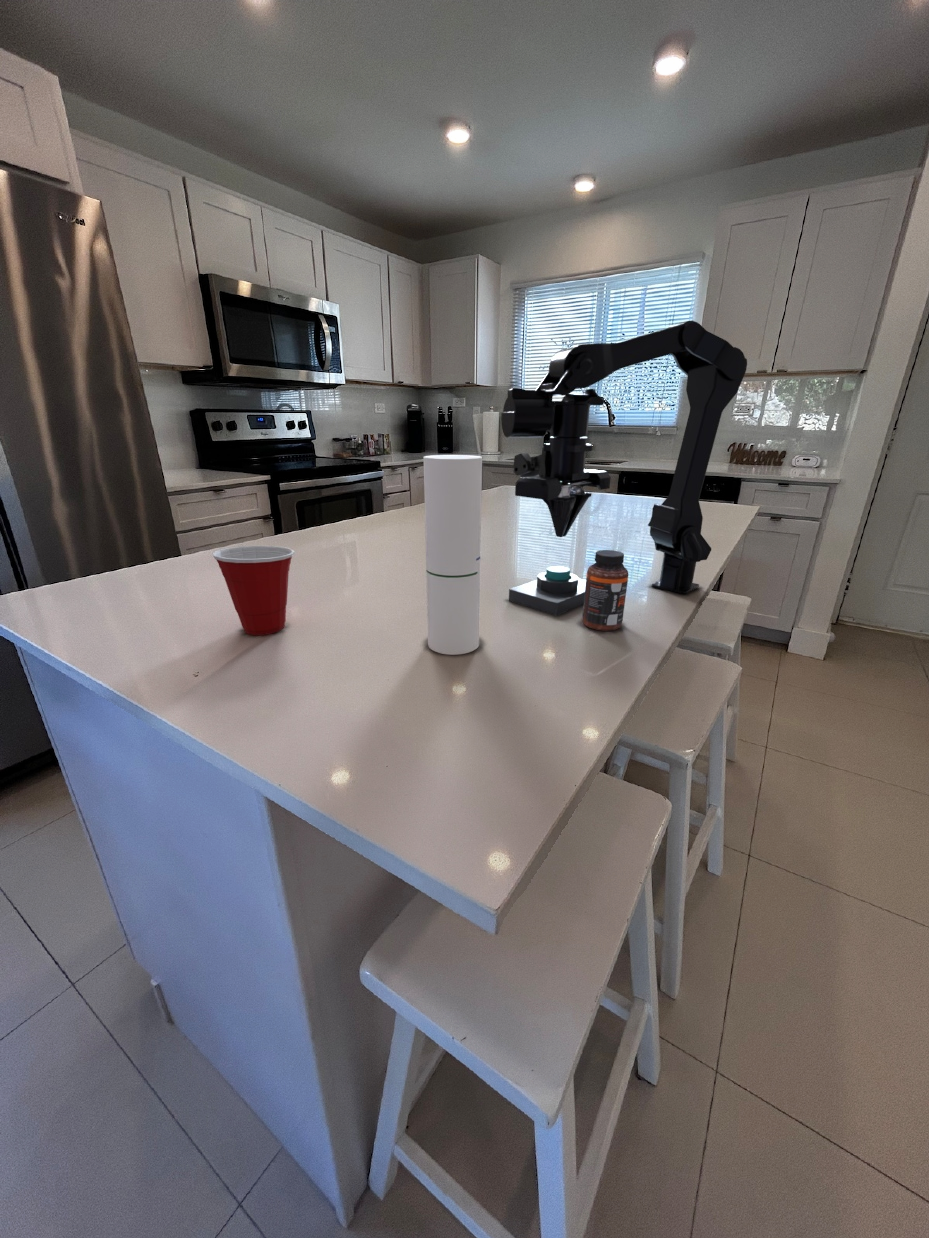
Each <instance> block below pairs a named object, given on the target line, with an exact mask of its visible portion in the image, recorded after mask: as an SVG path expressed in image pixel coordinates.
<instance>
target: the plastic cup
mask: <svg viewBox="0 0 929 1238" xmlns="http://www.w3.org/2000/svg"><path fill="white" fill-rule="evenodd" d="M295 552H296V551H295V550H293V549H292V548H289V547H285V546H275V545H246V546H245V545H244V546H235V547H227V548H222V549H217V550H215V551H213V552H212V556H213V558H214V559H215V560H216V562H217V563H218V567H219V570H220V571H221V574H222V577H223V579H224V581H225V584H226V587H227V590H228V592H229V596H230V598H231V601H232V604H233V606H234V608H235V612H236V614H237V616H238V619H239V621H240V622H239V623H240V625H241V627H242V629H243V630H244V632H245V634H248V635H251V636H265V635H271V634H274V633H278V632H280V631H282V630H283V629H284V627H285V626H286V621H287V620H286V617H287V605H288V591H289V589H288V588H289V573H290V569H291V563H292V558H293V556H294V555H295Z"/></svg>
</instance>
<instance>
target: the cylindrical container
mask: <svg viewBox="0 0 929 1238" xmlns="http://www.w3.org/2000/svg"><path fill="white" fill-rule="evenodd" d="M482 482H483V456H481V455H472V454H432V455H424V456H423V491H424V493H423V494H424V495H423V496H424V497H423V498H424V529H425V531H424V535H425V565H426V566H425V570H426V571H425V574H426V575H425V577H426V611H427V613H426V618H427V621H426V622H427V646H428V648H429V649H430V650H432V651H433V652H435V653H438V654H443V655H448V656H449V655H450V656H451V655H452V656H455V655H457V656H459V655H465V654H468V653H471V652H473V651H476V650H477V649H478V648H479V646H480V613H481V612H480V611H481V608H480V607H481V605H480V604H481V551H482V550H481V549H482V548H481V545H482V492H483V491H482V490H483V489H482V486H483V483H482Z"/></svg>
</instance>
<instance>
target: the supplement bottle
mask: <svg viewBox="0 0 929 1238" xmlns="http://www.w3.org/2000/svg"><path fill="white" fill-rule="evenodd" d="M624 557H625V554H624V553H623V552H622V551H619V550H614V549H613V550H612V549H601V550H597V551H596V552H595V556H594V561H595V563H593V564H591V565H589V567H587V571H586V577H585V580H586V586H585V596H584V604H583V605H582V607H583V608H582V617H581V618H582V619H581V620H582V623H583V625H585V626H586V627H587V628H590V629H591V630H596V631H601V632H602V631H603V632H610V631H616V630H618V629H620V628H621V627H622V624H623V621H624V620H623V619H624V613H625V604H626V598H627V591H628V590H627V589H628V581H629V570H628V568H626V567H625V566H624V560H625V559H624Z"/></svg>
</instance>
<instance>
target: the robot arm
mask: <svg viewBox="0 0 929 1238" xmlns="http://www.w3.org/2000/svg"><path fill="white" fill-rule="evenodd" d="M669 355H671V357H673V360H674V362H675V364H676V367H677V368H678V369H679V370H680V371H681V372H682V373H683V374H684V375H686V376H687V378H686V389H685V391H686V395H687V399H688V404H689V413H688V416H687V421H686V425H685V429H684V433H683V437H682V441H681V445H680V448H679V453H678V457H677V460H676V464H675V469H674V474H673V478H672V480H671V485H670V489H669V493H668V496H667V497H666V498H665V499H664V501H663V502H662V503H661V504H658V503H654V504H653V507H652V511H651V517H650V521H649V522H648V524H647V526H648V527H649V536H650V537H651V539H652V540H653V543H654V547H655V550H656V552H657V551H658V552H661V553H663V556H662V562H661V570H660V575H659V580H657V581H655V582H652V583H651V587H652V588H657V589H660V590H664V591H668V592H672V593H673V592H674V593H678V594H682V595H686V594H688V593H691V592H692V591H695V590H696V589H698V588H699V587H700V584H699V583H696V582H694V578H695V573H696V567H697V563H700V562H701V561H707V560H708V558H709V556H710V554H711V552H712V546H710V544H709V542H707V540H706V539H705V537H704V536H703V535H702V528H703V521H704V517H703V512H702V509H701V504H700V496H701V492H702V488H703V485H704V481H705V478H706V474H707V470H708V467H709V463H710V459H711V455H712V451H713V447H714V444H715V441H716V437H717V433H718V429H719V426H720V421H721V418H722V415H723V412H724V410H725V408H726V407H728V405H729V403H730V402H732V400H733V398H734V397H735V396H736V395H737V394H738V392H739V389H740V387H741V384H742V382H743V380H744V378H745V375H746V373H747V367H748V359H747V358H746V357H745V353H744V352H743V351H742V349H741V348H739V347H736V346H733V345H732V344H731V343H730V342H729V341H728V340H726V339H724V338H722V337H720V336H718V335H716V334H714V333H712V332H711V331H708V330H707V329H706V328H705V327H703V325H701V323H699V322H697V321H695V320H693V319H692V320H685V321H682V322H678V323H677V322H676V323H674V324H672V325H670V326H669V327H666V328H663V329H659V330H655V331H652V332H649V333H645V334H641V335H638V336H634V337H630V338H628V339H624V340H621V341H617V342H610V343H609V342H599V343H597V342H595V343H583V344H577V345H574V346H570V347H566V348H563V349H560V350H558V351H556V352H555V353H553V356H552V358H551V359H550V362H549V366H548V372H547V373H546V374H545V376H544V377H543V379H542V380H541V381H540V383H539V384H538V386H537V387H536V389H524V388H519V387H518V388H517V387H516V388H515V387H512V388H508V389H507V397H506V399H505V401H504V404H503V408H502V412H501V416H500V417H501V418H500V419H501V421H500V423H501V430H502V433H503V436H504V437H505V438H507V439H509V438H514V439H515V438H543V437H544V436H545V435H546V434H547V432H549V433H550V434H549V443H543V446H542V448H541V453H540V454H538V455H535V456H531V455H530V454H529V453H528V452H522V453H517V454H516V455H514V458H513V464H512V465H513V466H512V467H513V469H512V470H513V474H515V475H516V476H518V477H519V478H518V479H517V480H516V481H515V483H514V484H515V486H514V497H515V496H516V497H522V498H530V499H536V500H542V502H544V503H545V504H546V507H547V508H548V512H549V514H550V518H551V522H552V525H553V529H554V532H555V536H556V537H558V538H563V537H566V536H567V535H568V533H569V532H570V530H571V528H572V526H573V524H574V522H575V521H576V519H577V518H578V515H579V514H580V513H581V511H582V510H583V507H584V506H585V504H586V503H587V501H588V499H589V498H591V497H592V495H593V494H592V493H591V492H585V491H586V489H585V487H592V488H597V490H599V491H602V490H608V489H610V487H611V475H610V474H609V473H608V471H607V470H598V469H587V468H586V469H585V466H586V457H587V452H592V450H593V444H591V443H588V431H589V422H590V411H591V410H590V409H591V407H594V406H596V407H597V406H603V405H604V404H605V401H604V399H603V398H602V397H601V396H600V395H598V393H597V391H596V389H595V388H589V387H590V386H593V385H594V384H597V383H598V382H600V381H603V380H604V379H606V378H607V377H609V376H610V375H612V374H613V373H615V372H617V371H618V370H620V369H624V368H628V367H631V366H634V365H638V364H641V363H645V362H648V361H651V360H652V361H653V360H655V359H658V358H661V357H666V356H669ZM578 389H585V391H583V393H572V392H574V391H575V390H578ZM560 396H561V397H562V399H561V401H560V400H553V397H560Z"/></svg>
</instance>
